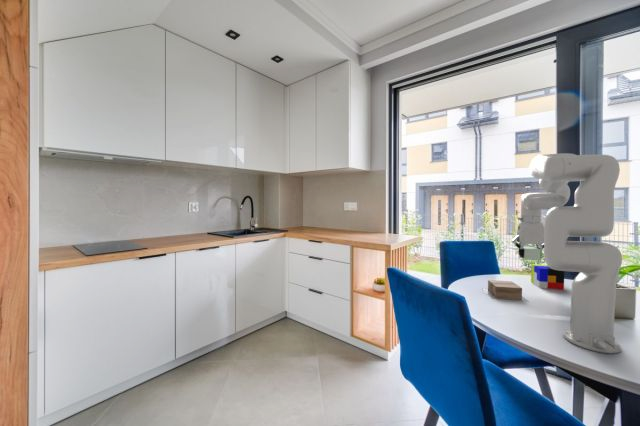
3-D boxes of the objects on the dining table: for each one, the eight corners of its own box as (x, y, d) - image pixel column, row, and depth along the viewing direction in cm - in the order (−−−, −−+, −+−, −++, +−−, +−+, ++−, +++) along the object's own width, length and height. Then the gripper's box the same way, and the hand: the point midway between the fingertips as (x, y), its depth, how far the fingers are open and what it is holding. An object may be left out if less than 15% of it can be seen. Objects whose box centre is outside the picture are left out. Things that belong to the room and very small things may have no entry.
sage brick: (540, 260, 124) (540, 249, 124) (525, 259, 126) (525, 248, 125) (533, 257, 130) (534, 247, 130) (519, 257, 131) (519, 246, 131)
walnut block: (521, 299, 116) (522, 288, 116) (495, 297, 119) (496, 286, 119) (511, 291, 126) (512, 281, 126) (487, 290, 129) (488, 280, 128)
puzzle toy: (539, 287, 135) (540, 268, 135) (531, 282, 145) (531, 263, 144) (563, 289, 132) (564, 269, 132) (553, 283, 142) (554, 265, 141)
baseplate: (529, 304, 114) (529, 301, 114) (492, 301, 118) (492, 298, 118) (514, 293, 127) (514, 290, 127) (481, 291, 131) (481, 288, 131)
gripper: (513, 220, 126) (512, 258, 126) (557, 220, 121) (555, 259, 122) (506, 219, 133) (505, 255, 134) (547, 219, 128) (546, 256, 129)
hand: (529, 257), depth 128 cm, fingers closed on sage brick, 6 cm apart
